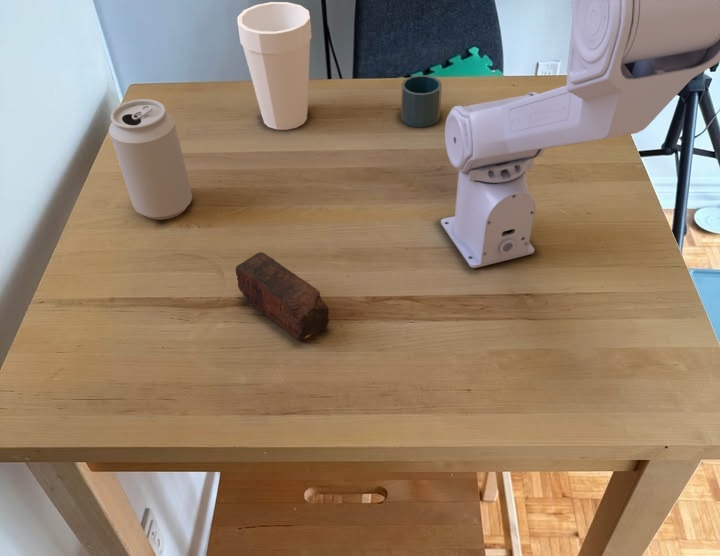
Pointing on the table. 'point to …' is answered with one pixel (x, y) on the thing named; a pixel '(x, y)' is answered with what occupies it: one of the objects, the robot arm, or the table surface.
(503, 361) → the table surface
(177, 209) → the can
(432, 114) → the cup
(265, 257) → the brick
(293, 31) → the foam cup
